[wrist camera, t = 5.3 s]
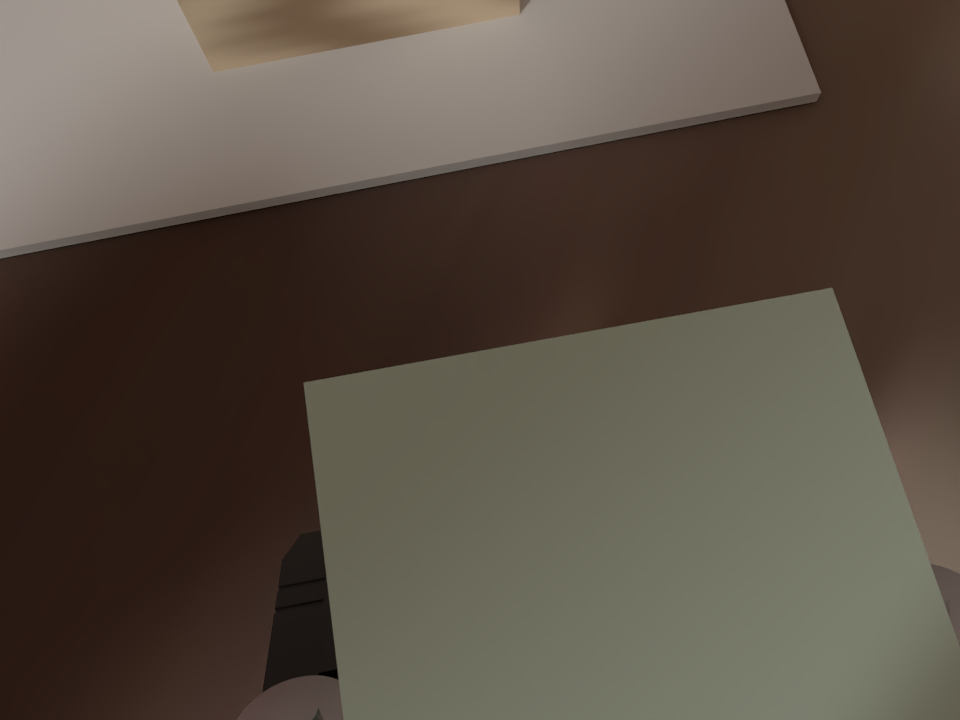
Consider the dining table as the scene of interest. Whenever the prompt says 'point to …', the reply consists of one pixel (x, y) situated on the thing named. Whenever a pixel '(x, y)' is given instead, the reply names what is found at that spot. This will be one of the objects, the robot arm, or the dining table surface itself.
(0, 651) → the dining table surface
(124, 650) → the dining table surface
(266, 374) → the dining table surface
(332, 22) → the oak slab
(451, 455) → the sage pillar
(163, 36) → the flat white board
